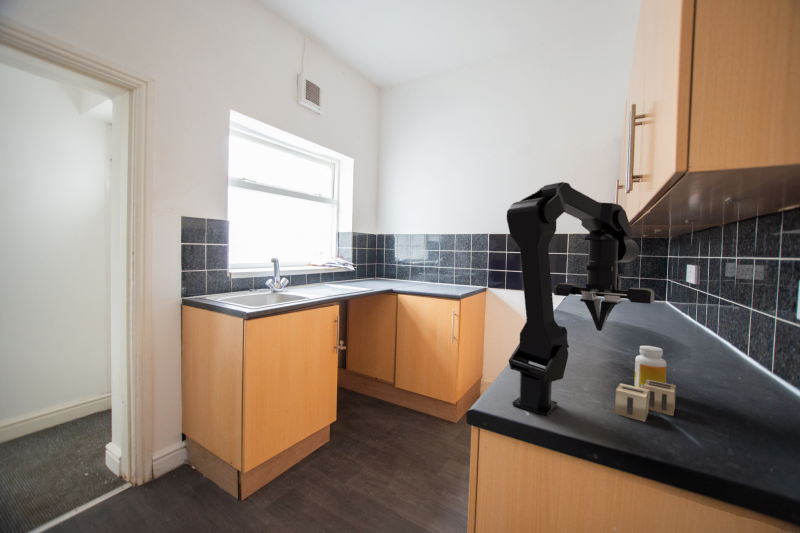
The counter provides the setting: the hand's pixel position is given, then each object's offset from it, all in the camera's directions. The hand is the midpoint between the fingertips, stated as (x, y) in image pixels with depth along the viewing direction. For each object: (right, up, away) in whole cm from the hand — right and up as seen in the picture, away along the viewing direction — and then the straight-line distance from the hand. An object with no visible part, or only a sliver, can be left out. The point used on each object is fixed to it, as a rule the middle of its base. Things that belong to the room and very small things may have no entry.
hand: (599, 330), depth 75 cm
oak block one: (-2, -13, -14) cm, 19 cm away
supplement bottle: (+8, -13, -4) cm, 16 cm away
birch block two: (+5, -13, -11) cm, 18 cm away
